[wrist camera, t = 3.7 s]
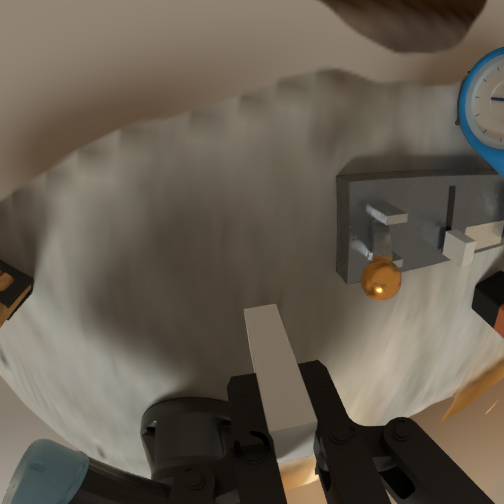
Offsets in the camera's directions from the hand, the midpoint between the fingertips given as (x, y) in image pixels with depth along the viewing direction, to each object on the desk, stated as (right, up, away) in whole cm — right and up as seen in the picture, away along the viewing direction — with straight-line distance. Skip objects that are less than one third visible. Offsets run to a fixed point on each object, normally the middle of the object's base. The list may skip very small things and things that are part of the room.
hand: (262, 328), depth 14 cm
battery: (+34, -2, +19) cm, 39 cm away
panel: (+25, +9, +13) cm, 30 cm away
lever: (+10, +5, +9) cm, 15 cm away
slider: (+19, +5, +11) cm, 22 cm away
